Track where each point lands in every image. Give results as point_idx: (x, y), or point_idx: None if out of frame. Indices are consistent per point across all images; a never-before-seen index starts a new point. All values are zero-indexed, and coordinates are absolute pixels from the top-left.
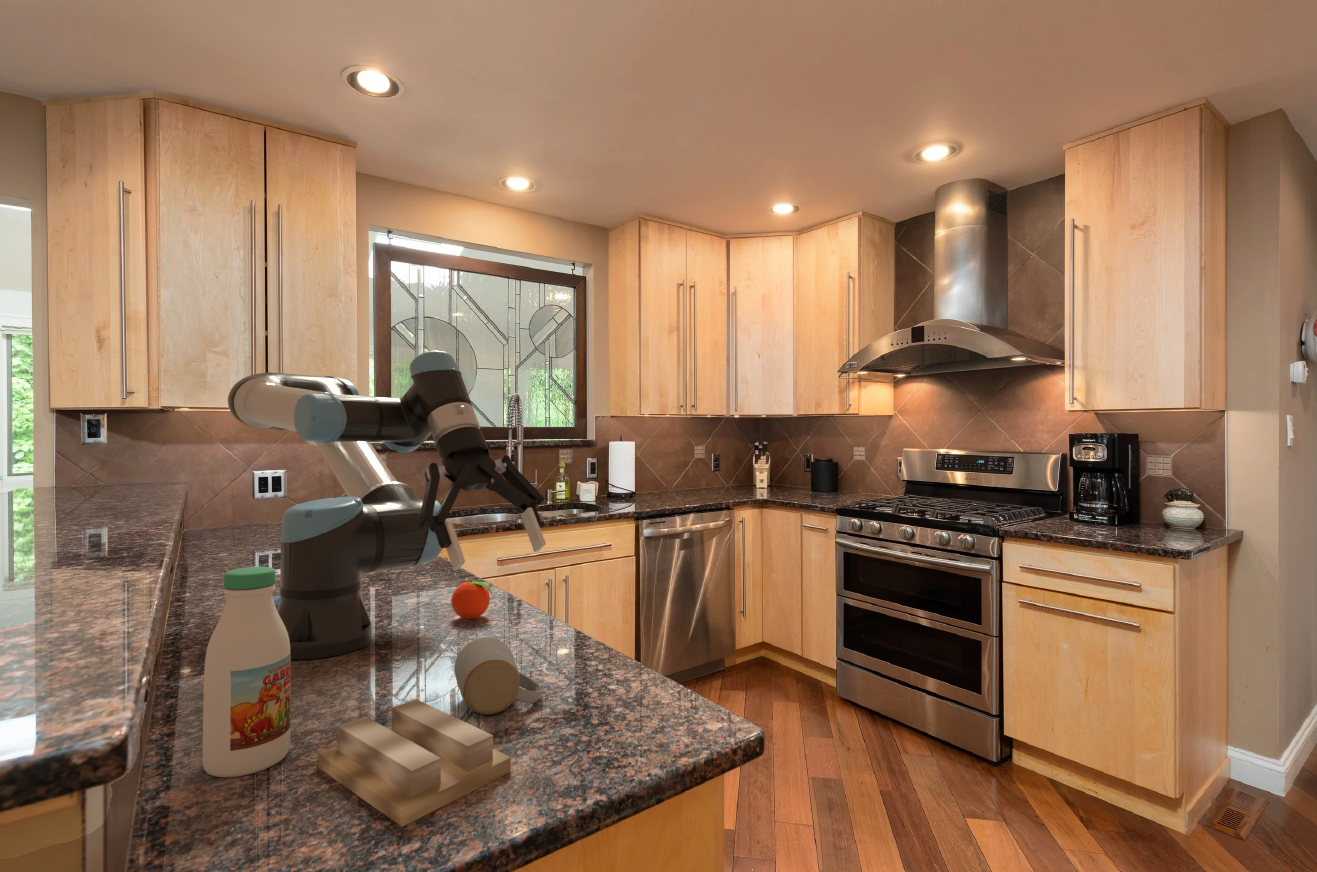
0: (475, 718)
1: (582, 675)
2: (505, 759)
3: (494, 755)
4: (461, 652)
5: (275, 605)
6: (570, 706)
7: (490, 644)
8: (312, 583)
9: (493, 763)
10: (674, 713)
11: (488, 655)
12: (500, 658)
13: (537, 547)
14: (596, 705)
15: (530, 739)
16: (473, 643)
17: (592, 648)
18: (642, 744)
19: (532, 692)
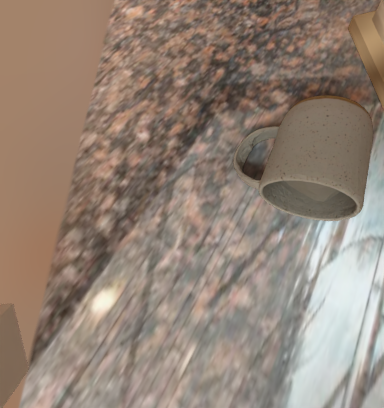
0: None
1: (148, 189)
2: (359, 15)
3: (366, 26)
4: (361, 190)
5: None
6: (220, 115)
7: (322, 146)
8: None
9: (373, 13)
10: (143, 46)
11: (341, 110)
12: (323, 101)
13: (17, 345)
14: (194, 102)
15: (301, 71)
16: (346, 174)
17: (60, 280)
18: (213, 14)
19: (261, 129)
